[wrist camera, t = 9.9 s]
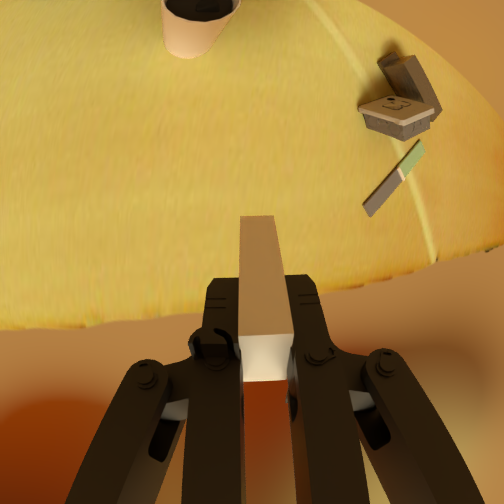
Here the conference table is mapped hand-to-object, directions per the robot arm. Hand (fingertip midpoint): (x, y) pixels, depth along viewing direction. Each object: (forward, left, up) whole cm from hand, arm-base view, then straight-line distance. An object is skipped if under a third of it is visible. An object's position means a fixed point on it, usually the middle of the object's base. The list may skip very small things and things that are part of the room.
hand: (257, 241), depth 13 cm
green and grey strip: (+18, +24, -19) cm, 35 cm away
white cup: (-15, +11, -19) cm, 26 cm away
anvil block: (+8, +34, -19) cm, 40 cm away
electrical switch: (+8, +26, -19) cm, 34 cm away
